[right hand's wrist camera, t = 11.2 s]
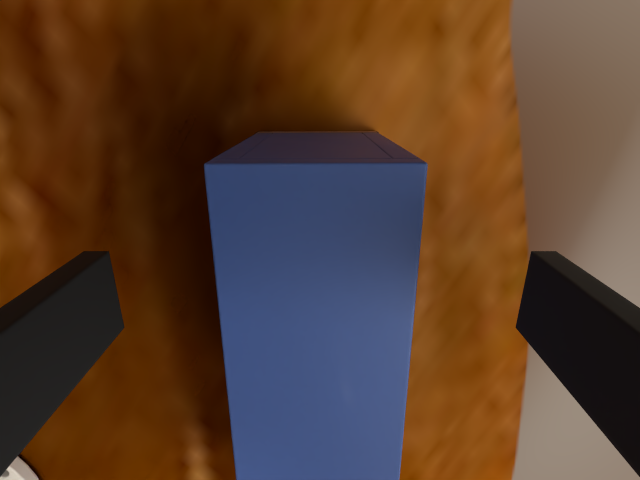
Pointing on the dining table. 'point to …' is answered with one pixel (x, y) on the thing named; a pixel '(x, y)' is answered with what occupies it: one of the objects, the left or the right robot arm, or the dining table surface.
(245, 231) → the cabinet
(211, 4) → the dining table surface
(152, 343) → the dining table surface
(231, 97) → the dining table surface
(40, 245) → the dining table surface
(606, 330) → the right robot arm
